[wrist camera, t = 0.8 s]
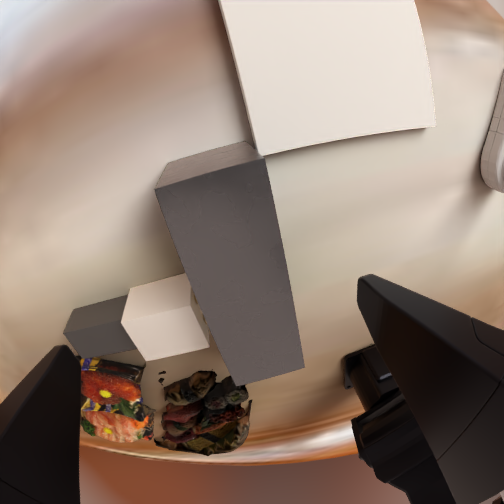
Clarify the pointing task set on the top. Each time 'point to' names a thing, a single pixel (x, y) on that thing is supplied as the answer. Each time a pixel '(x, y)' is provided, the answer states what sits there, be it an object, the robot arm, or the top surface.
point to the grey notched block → (234, 257)
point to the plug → (142, 322)
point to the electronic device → (495, 147)
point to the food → (178, 410)
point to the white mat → (328, 69)
